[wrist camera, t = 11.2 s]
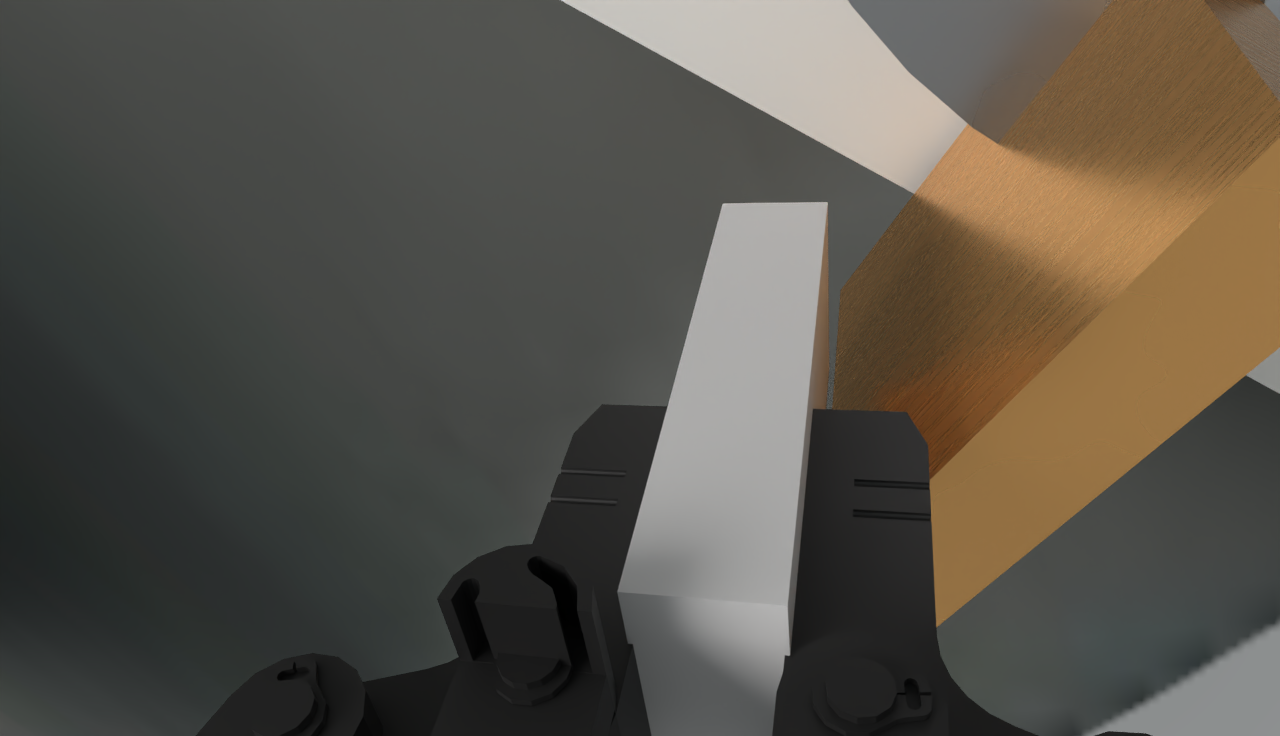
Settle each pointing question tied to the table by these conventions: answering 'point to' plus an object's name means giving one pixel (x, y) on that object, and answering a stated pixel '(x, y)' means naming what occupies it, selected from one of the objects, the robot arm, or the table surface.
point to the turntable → (1068, 253)
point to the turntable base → (811, 80)
